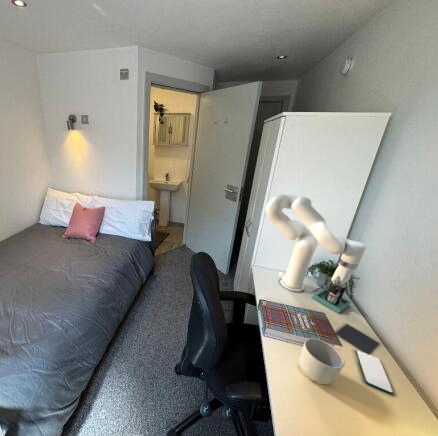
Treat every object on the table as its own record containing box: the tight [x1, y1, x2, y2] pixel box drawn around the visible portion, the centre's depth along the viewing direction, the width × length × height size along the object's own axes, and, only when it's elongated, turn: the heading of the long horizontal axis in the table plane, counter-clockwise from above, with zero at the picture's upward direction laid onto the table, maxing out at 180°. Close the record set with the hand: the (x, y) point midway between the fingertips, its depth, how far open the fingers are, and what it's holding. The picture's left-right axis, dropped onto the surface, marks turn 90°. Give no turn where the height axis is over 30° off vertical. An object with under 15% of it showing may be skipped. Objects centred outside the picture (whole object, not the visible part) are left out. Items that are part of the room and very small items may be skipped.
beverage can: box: [325, 280, 347, 305], centre depth 127 cm, size 7×7×12 cm
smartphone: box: [355, 349, 394, 395], centre depth 91 cm, size 8×1×16 cm
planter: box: [298, 337, 346, 385], centre depth 88 cm, size 12×12×11 cm
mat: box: [335, 323, 379, 355], centre depth 106 cm, size 12×12×1 cm
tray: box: [313, 288, 352, 314], centre depth 129 cm, size 13×13×2 cm
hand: (335, 291), depth 126 cm, fingers closed on beverage can, 6 cm apart
